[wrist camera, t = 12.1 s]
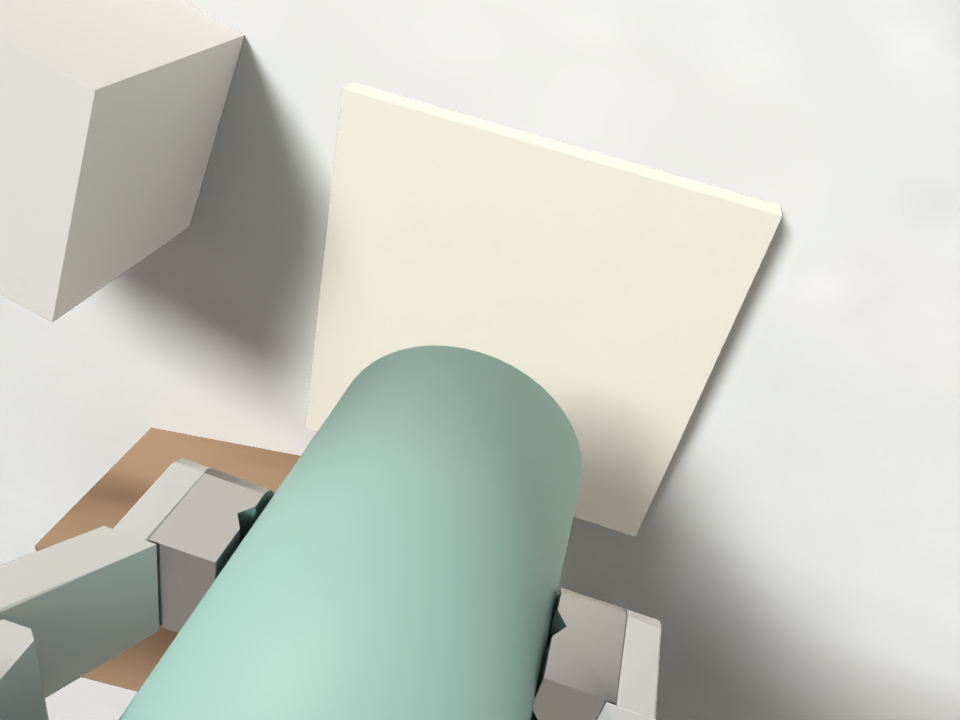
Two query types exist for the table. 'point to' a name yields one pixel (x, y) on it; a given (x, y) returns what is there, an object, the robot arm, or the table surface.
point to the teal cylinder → (392, 559)
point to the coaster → (534, 277)
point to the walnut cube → (125, 490)
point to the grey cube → (102, 137)
